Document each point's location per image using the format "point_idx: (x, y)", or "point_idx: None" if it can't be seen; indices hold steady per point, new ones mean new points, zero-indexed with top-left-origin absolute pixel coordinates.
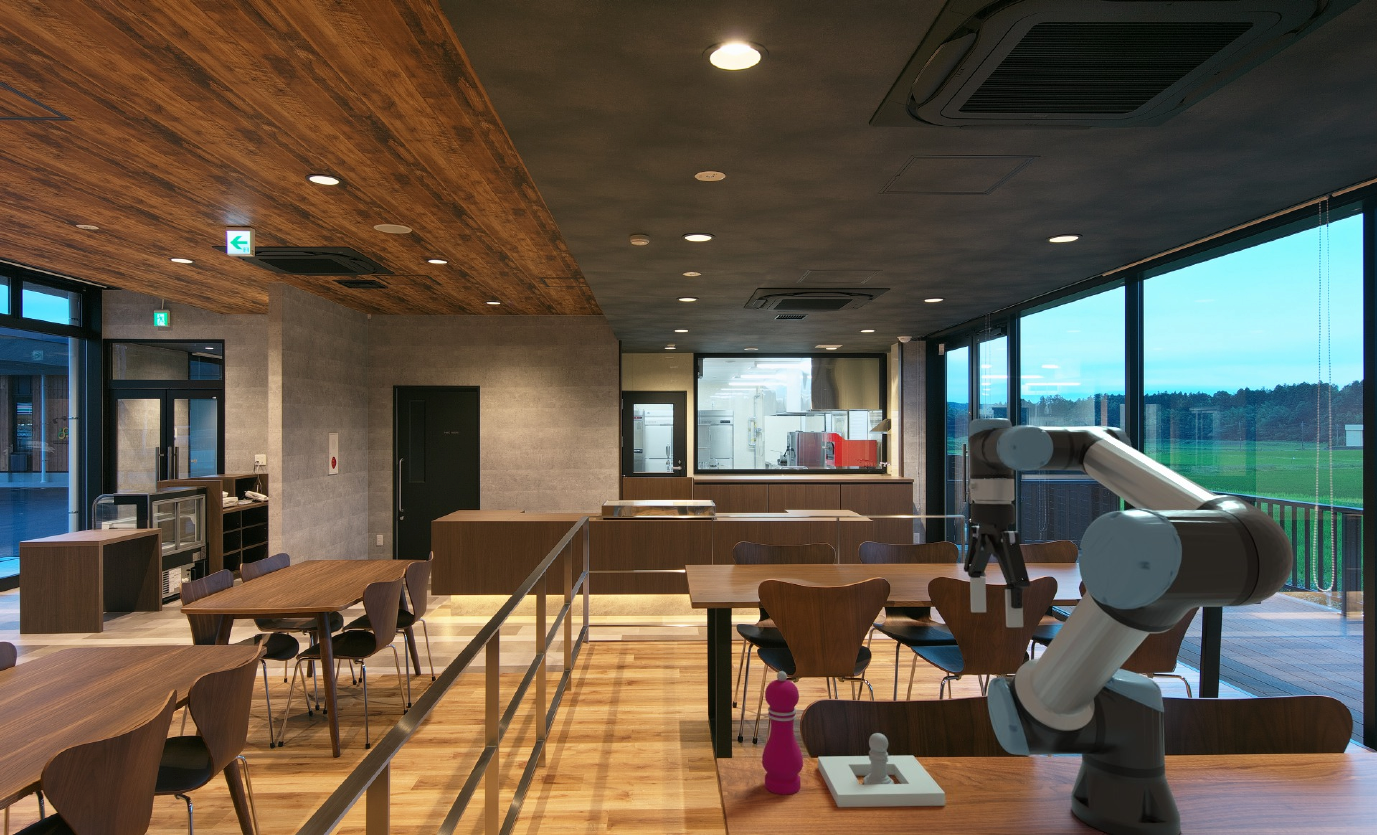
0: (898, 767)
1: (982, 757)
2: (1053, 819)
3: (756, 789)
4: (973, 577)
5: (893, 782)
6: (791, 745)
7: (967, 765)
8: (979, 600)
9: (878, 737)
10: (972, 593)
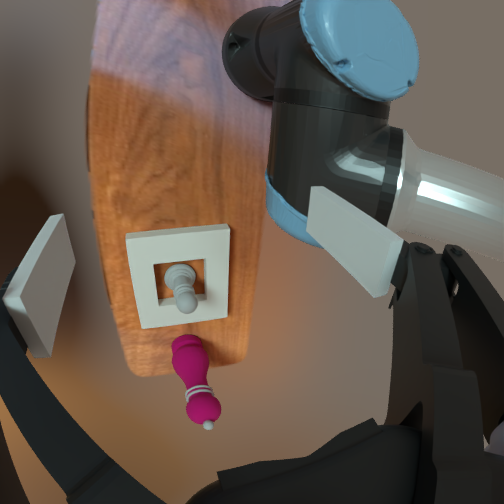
0: (163, 261)
1: (91, 138)
2: (265, 126)
3: None
4: (29, 345)
5: (184, 266)
6: (205, 368)
7: (118, 166)
8: (59, 260)
9: (194, 308)
10: (62, 304)
